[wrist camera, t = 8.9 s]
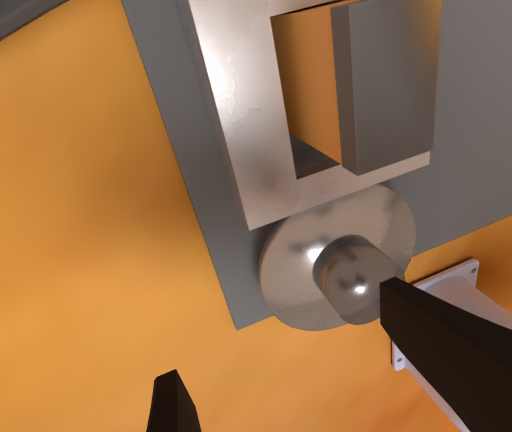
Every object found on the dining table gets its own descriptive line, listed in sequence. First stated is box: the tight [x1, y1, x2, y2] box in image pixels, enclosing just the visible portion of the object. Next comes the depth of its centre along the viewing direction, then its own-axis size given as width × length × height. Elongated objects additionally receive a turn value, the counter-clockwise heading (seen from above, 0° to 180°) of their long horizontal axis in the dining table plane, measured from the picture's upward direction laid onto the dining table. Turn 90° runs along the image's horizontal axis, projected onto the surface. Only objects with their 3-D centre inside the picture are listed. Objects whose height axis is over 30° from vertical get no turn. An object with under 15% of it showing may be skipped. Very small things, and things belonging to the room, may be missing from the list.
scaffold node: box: [175, 0, 430, 331], centre depth 16 cm, size 26×10×5 cm, turn 12°
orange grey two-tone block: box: [270, 0, 444, 176], centre depth 14 cm, size 5×3×7 cm, turn 11°
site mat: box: [121, 0, 512, 330], centre depth 19 cm, size 24×24×1 cm
